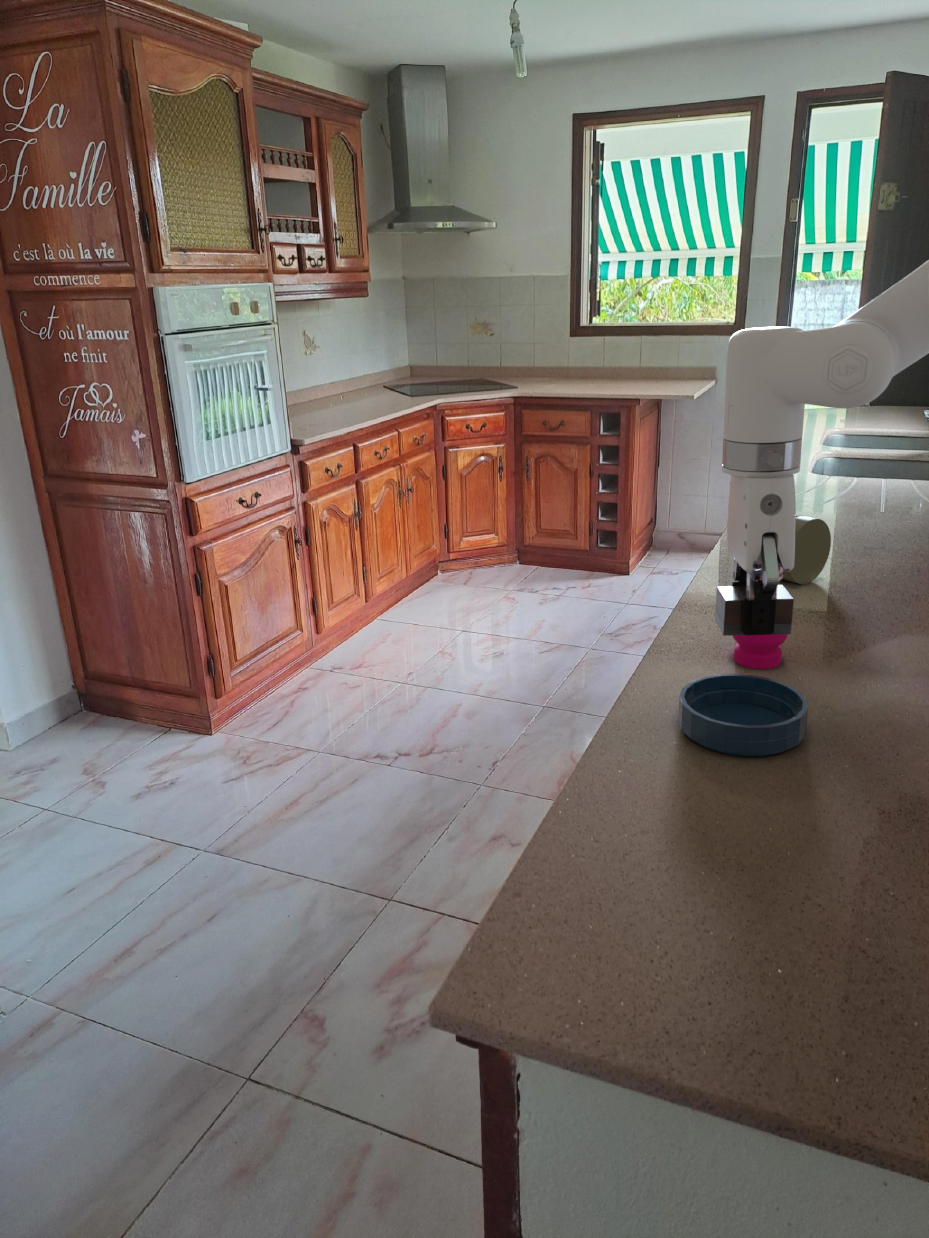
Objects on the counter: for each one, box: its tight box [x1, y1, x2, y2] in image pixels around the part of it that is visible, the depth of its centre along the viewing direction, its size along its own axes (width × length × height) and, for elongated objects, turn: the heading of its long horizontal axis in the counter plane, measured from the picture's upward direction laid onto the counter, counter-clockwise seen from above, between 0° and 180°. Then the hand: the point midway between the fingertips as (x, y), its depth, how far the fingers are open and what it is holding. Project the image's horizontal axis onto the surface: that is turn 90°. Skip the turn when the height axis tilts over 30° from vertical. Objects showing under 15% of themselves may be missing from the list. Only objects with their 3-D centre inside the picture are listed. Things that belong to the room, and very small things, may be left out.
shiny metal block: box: [714, 584, 795, 637], centre depth 94 cm, size 7×4×4 cm, turn 86°
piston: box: [781, 514, 832, 585], centre depth 154 cm, size 11×12×11 cm
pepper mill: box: [731, 564, 788, 670], centre depth 118 cm, size 7×7×20 cm
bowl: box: [677, 673, 809, 757], centre depth 103 cm, size 14×14×4 cm
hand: (751, 623), depth 95 cm, fingers closed on shiny metal block, 4 cm apart
